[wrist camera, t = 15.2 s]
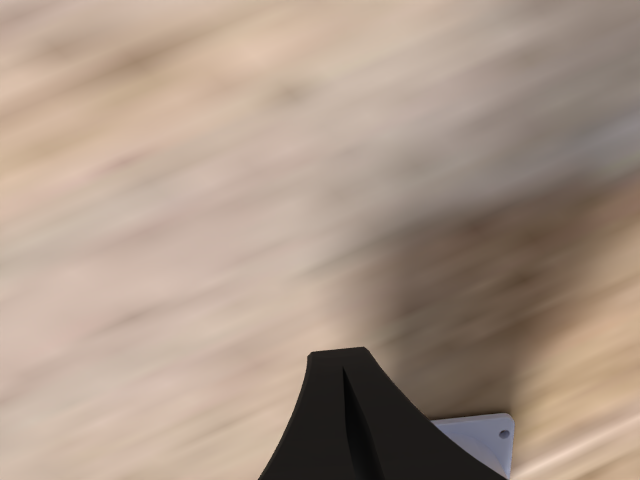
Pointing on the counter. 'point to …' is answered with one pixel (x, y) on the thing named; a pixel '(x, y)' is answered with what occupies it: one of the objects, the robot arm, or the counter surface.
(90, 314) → the counter surface
